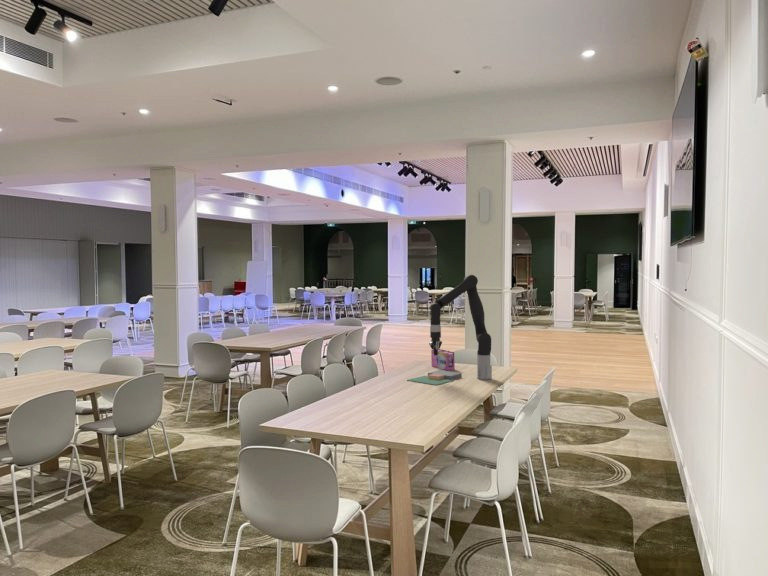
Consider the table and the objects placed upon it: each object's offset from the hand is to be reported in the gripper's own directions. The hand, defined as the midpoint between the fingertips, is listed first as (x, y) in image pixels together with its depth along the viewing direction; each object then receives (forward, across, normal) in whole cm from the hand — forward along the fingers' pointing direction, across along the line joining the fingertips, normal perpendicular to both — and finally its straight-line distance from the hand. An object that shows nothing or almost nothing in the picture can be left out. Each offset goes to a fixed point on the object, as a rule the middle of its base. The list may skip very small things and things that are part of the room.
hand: (435, 355), depth 404 cm
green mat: (+17, -7, 0) cm, 19 cm away
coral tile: (+17, 0, 0) cm, 17 cm away
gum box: (+18, +41, +24) cm, 51 cm away
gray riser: (+17, +10, 0) cm, 20 cm away
